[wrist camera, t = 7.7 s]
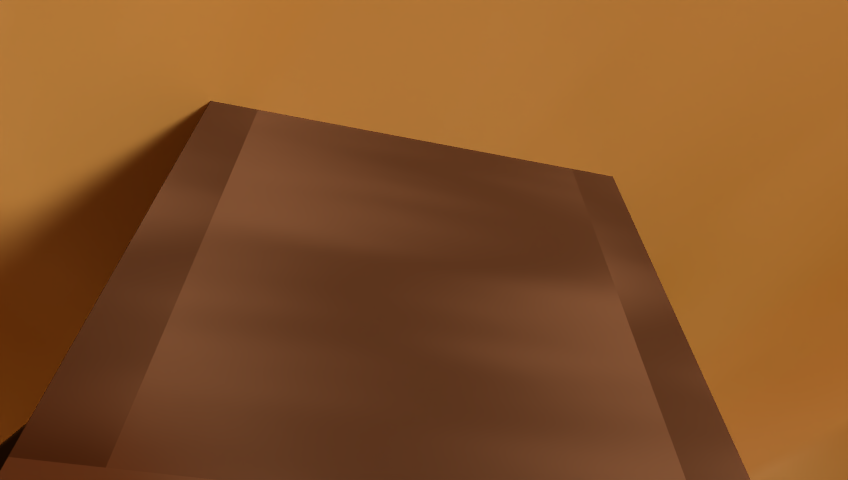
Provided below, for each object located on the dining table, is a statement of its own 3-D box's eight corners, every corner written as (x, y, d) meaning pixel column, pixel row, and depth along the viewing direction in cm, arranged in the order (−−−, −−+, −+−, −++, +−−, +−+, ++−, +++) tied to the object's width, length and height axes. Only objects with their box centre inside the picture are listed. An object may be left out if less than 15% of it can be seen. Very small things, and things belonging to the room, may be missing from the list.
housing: (611, 174, 11) (822, 639, 5) (500, 416, 14) (554, 837, 9) (211, 98, 10) (-54, 563, 4) (205, 377, 14) (59, 817, 8)
